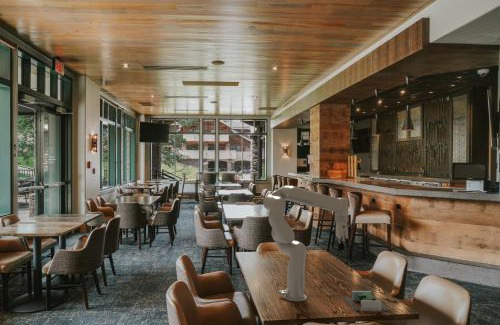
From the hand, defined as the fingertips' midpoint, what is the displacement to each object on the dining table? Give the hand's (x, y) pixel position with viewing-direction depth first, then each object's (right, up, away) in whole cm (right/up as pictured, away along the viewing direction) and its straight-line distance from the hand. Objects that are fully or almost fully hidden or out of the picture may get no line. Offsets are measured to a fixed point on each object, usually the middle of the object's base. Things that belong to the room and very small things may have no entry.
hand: (340, 250), depth 241 cm
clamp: (+9, -25, -22) cm, 35 cm away
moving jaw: (+8, -25, -14) cm, 30 cm away
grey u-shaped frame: (+9, -25, -22) cm, 34 cm away
